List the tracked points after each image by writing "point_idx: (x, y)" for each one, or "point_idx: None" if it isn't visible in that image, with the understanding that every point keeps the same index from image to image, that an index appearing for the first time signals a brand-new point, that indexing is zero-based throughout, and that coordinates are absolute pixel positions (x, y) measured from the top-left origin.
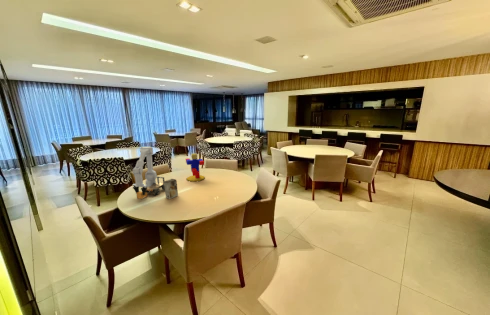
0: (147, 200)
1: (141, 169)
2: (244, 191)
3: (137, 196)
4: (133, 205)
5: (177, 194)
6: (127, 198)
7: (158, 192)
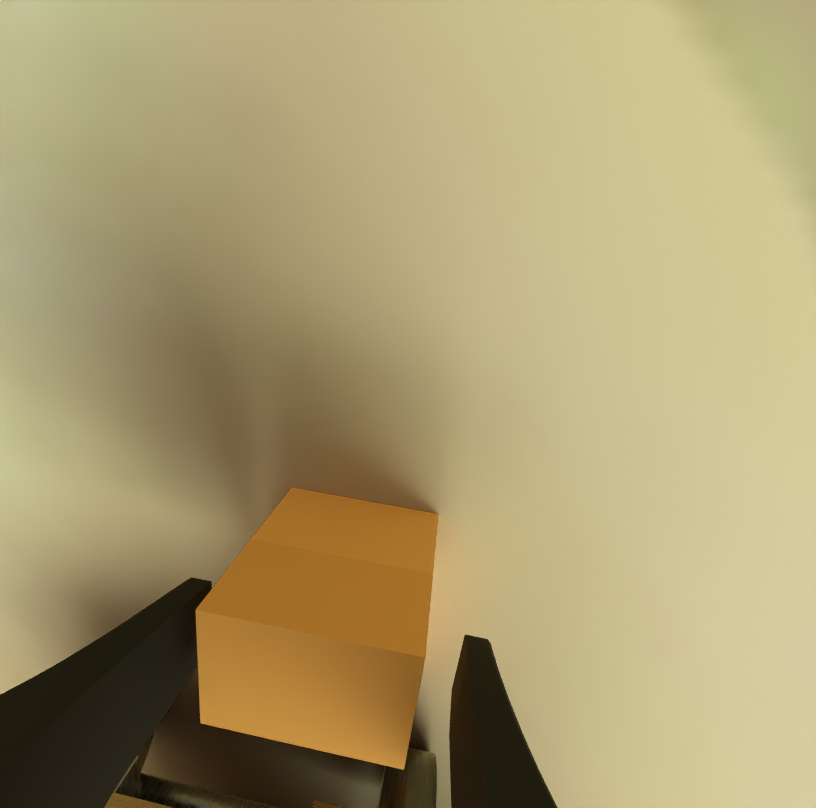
0: (76, 421)
1: None
2: None
3: (417, 543)
4: (170, 38)
5: None
6: (728, 466)
7: None
